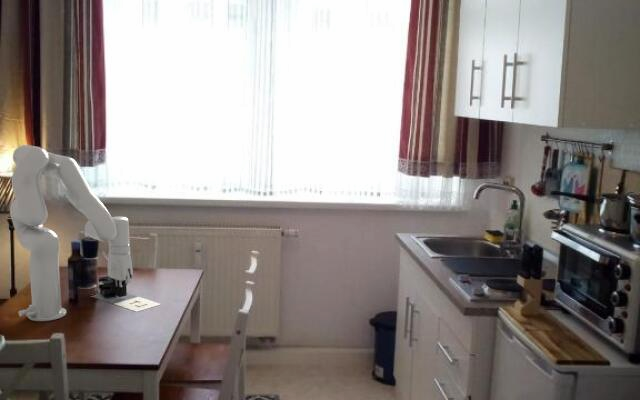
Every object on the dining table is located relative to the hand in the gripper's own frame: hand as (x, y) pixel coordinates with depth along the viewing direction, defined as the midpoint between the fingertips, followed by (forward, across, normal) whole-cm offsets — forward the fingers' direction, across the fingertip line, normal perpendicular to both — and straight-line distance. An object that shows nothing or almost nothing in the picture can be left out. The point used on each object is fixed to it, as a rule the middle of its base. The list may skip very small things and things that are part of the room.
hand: (121, 295), depth 255 cm
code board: (+1, +10, 0) cm, 10 cm away
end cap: (+1, -8, +1) cm, 9 cm away
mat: (+1, -5, 0) cm, 5 cm away
